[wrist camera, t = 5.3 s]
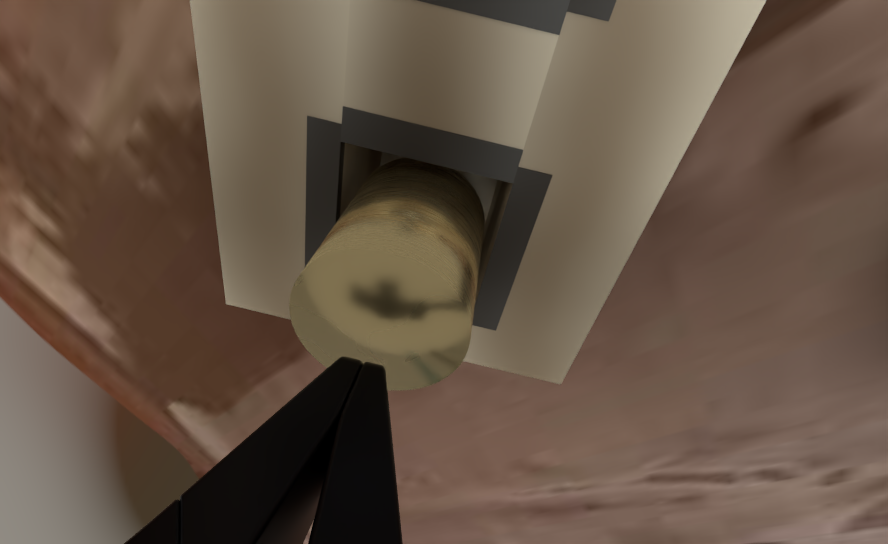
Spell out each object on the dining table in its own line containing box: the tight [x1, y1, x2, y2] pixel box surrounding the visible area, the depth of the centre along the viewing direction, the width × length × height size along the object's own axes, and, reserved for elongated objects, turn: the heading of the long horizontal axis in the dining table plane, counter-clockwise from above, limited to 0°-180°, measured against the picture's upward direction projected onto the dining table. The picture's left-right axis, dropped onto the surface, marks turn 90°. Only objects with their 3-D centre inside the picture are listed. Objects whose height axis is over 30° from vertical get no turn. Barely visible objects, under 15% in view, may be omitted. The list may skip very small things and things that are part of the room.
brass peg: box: [289, 158, 485, 390], centre depth 12 cm, size 4×4×5 cm
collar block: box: [190, 0, 766, 384], centre depth 13 cm, size 12×18×6 cm, turn 169°
